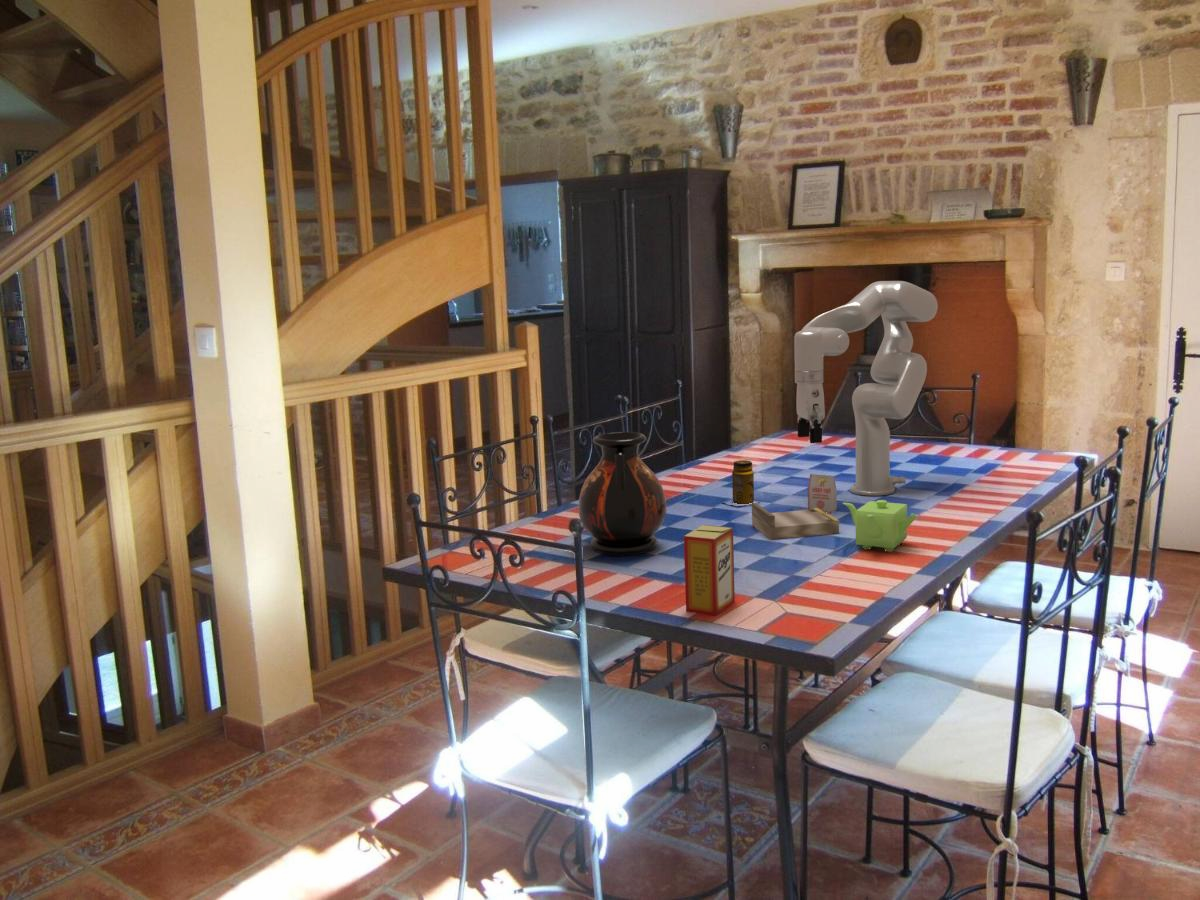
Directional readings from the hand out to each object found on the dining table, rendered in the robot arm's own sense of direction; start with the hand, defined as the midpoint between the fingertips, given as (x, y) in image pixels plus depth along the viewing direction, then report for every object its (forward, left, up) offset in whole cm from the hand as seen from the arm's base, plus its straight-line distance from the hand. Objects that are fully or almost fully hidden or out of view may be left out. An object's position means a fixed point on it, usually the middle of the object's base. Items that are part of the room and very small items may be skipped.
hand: (809, 439), depth 282 cm
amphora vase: (+56, +20, -20) cm, 63 cm away
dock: (+11, +18, -20) cm, 29 cm away
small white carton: (-3, +2, -20) cm, 20 cm away
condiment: (+15, -14, -20) cm, 29 cm away
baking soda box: (+48, +68, -20) cm, 86 cm away
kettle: (-2, +39, -20) cm, 44 cm away
